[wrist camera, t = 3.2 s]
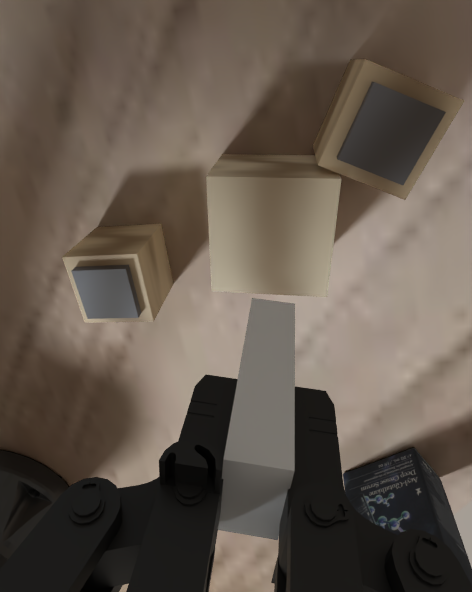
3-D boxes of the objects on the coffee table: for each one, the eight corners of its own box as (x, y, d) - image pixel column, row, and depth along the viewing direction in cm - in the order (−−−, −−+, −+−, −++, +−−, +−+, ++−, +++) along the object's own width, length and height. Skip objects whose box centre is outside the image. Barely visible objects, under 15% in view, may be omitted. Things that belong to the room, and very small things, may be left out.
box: (412, 444, 37) (452, 566, 28) (440, 477, 39) (486, 601, 30) (340, 471, 41) (355, 589, 32) (369, 501, 42) (391, 620, 33)
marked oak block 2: (114, 285, 32) (80, 327, 27) (97, 226, 30) (57, 261, 25) (173, 283, 31) (150, 326, 26) (161, 223, 29) (133, 257, 24)
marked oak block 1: (312, 146, 25) (318, 167, 20) (350, 59, 23) (367, 58, 17) (384, 174, 26) (408, 203, 20) (429, 92, 23) (469, 101, 18)
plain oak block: (225, 251, 30) (211, 291, 25) (222, 153, 26) (206, 176, 21) (320, 255, 29) (326, 297, 24) (330, 155, 25) (341, 178, 20)
